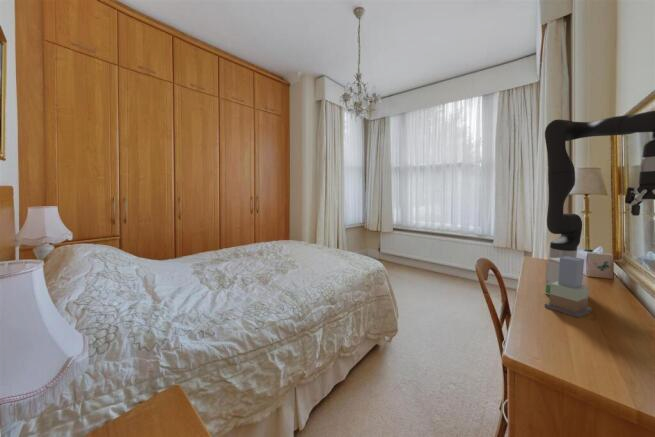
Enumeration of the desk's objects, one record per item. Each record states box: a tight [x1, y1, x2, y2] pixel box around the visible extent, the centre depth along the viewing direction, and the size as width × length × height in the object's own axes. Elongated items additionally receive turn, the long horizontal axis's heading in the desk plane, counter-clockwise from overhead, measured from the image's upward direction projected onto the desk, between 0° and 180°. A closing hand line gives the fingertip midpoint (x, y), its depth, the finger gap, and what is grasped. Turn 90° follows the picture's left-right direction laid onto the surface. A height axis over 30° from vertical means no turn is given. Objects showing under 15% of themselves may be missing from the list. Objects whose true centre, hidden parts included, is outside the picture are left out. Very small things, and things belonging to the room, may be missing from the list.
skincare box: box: [544, 257, 560, 296], centre depth 109 cm, size 8×7×16 cm
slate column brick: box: [558, 256, 585, 288], centre depth 97 cm, size 5×5×10 cm
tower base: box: [544, 281, 593, 319], centre depth 99 cm, size 10×10×9 cm
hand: (651, 216), depth 95 cm, fingers open, 8 cm apart
